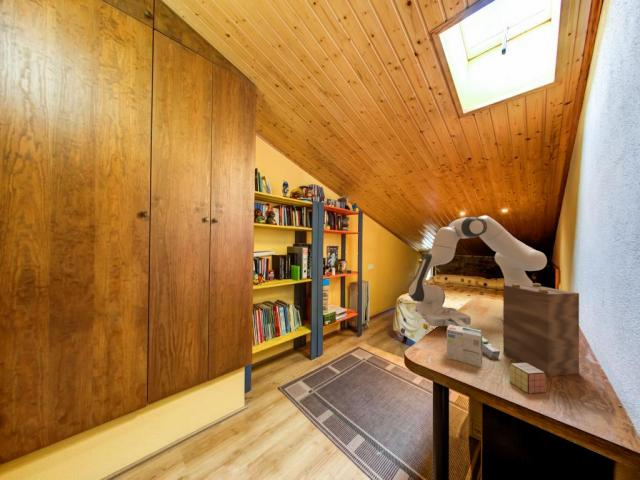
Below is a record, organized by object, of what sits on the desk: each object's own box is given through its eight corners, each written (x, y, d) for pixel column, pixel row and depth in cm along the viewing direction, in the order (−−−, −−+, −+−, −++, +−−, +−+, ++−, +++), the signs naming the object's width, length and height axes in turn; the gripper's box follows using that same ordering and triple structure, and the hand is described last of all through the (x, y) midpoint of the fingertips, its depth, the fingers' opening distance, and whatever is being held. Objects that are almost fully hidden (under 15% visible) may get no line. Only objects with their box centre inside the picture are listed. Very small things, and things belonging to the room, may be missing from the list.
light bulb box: (482, 359, 83) (482, 329, 83) (481, 368, 77) (482, 336, 77) (448, 351, 89) (448, 323, 89) (446, 358, 84) (446, 328, 84)
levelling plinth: (530, 351, 89) (530, 281, 89) (579, 373, 74) (578, 290, 74) (503, 353, 87) (503, 282, 88) (547, 376, 73) (547, 291, 73)
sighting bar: (453, 321, 107) (455, 314, 106) (498, 358, 84) (500, 349, 83) (447, 322, 107) (449, 314, 106) (490, 358, 83) (492, 349, 83)
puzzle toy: (525, 380, 70) (525, 362, 70) (546, 392, 65) (546, 372, 65) (509, 381, 70) (509, 363, 70) (528, 394, 64) (528, 373, 64)
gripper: (420, 309, 113) (438, 319, 100) (457, 308, 116) (480, 317, 102) (420, 322, 113) (438, 334, 99) (457, 320, 116) (480, 331, 102)
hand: (460, 325), depth 101 cm, fingers closed on sighting bar, 3 cm apart
